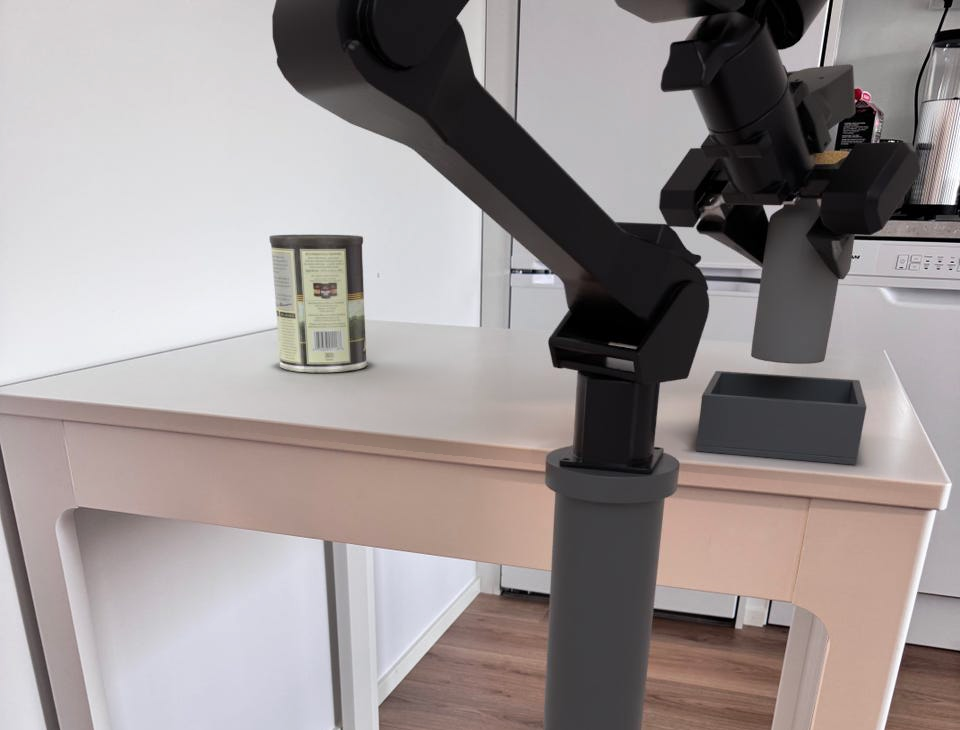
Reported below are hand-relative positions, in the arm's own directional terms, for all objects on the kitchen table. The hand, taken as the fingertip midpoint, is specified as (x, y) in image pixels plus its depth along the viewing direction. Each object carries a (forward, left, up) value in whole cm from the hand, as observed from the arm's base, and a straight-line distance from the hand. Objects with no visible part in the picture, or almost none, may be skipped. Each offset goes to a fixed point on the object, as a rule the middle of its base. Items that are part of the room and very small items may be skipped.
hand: (810, 272), depth 75 cm
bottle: (-1, +1, -7) cm, 7 cm away
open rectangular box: (-1, +1, -13) cm, 13 cm away
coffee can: (+19, +53, -13) cm, 58 cm away
